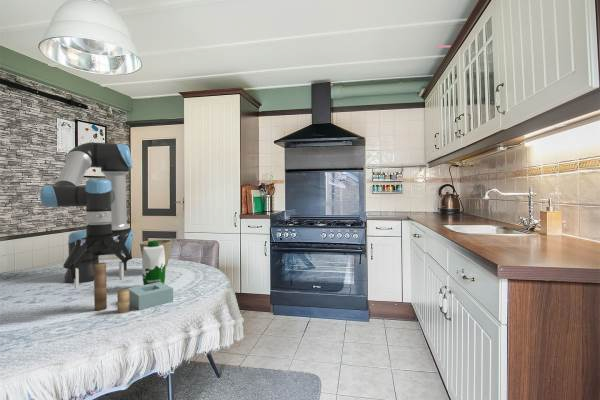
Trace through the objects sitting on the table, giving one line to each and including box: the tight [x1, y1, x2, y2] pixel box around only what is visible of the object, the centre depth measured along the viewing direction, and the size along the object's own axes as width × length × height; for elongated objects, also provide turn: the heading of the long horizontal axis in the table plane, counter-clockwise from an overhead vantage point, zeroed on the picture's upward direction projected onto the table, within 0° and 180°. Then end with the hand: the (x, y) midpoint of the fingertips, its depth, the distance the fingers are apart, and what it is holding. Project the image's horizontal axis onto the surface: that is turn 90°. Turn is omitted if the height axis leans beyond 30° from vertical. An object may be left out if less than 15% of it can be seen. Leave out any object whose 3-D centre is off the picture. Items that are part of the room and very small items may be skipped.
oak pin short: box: [116, 288, 131, 314], centre depth 106 cm, size 4×4×7 cm
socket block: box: [127, 282, 174, 311], centre depth 116 cm, size 12×12×5 cm
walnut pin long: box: [93, 262, 108, 312], centre depth 108 cm, size 4×4×16 cm
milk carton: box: [141, 240, 166, 285], centre depth 131 cm, size 9×9×20 cm
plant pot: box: [139, 239, 173, 271], centre depth 157 cm, size 15×15×16 cm
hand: (100, 283), depth 108 cm, fingers open, 13 cm apart
